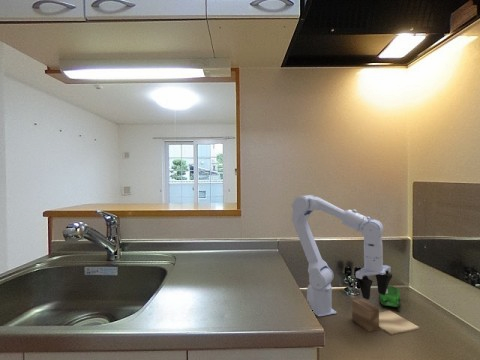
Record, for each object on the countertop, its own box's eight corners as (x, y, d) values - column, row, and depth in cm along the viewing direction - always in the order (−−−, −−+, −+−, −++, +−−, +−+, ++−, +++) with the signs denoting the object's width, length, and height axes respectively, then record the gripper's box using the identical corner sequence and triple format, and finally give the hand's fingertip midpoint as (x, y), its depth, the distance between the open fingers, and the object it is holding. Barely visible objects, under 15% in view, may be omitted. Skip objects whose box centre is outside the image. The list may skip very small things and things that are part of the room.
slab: (369, 331, 90) (369, 310, 90) (352, 319, 98) (352, 300, 98) (378, 329, 91) (379, 308, 91) (361, 317, 99) (361, 298, 99)
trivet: (363, 317, 99) (363, 315, 99) (389, 311, 103) (389, 310, 103) (391, 335, 88) (391, 333, 88) (419, 328, 92) (419, 327, 92)
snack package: (379, 309, 106) (379, 295, 106) (380, 293, 120) (380, 281, 119) (400, 313, 102) (400, 299, 102) (399, 296, 116) (399, 284, 116)
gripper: (368, 262, 86) (368, 305, 86) (398, 255, 93) (399, 296, 93) (350, 256, 93) (351, 297, 93) (380, 251, 99) (380, 288, 99)
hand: (374, 296), depth 93 cm, fingers open, 7 cm apart
